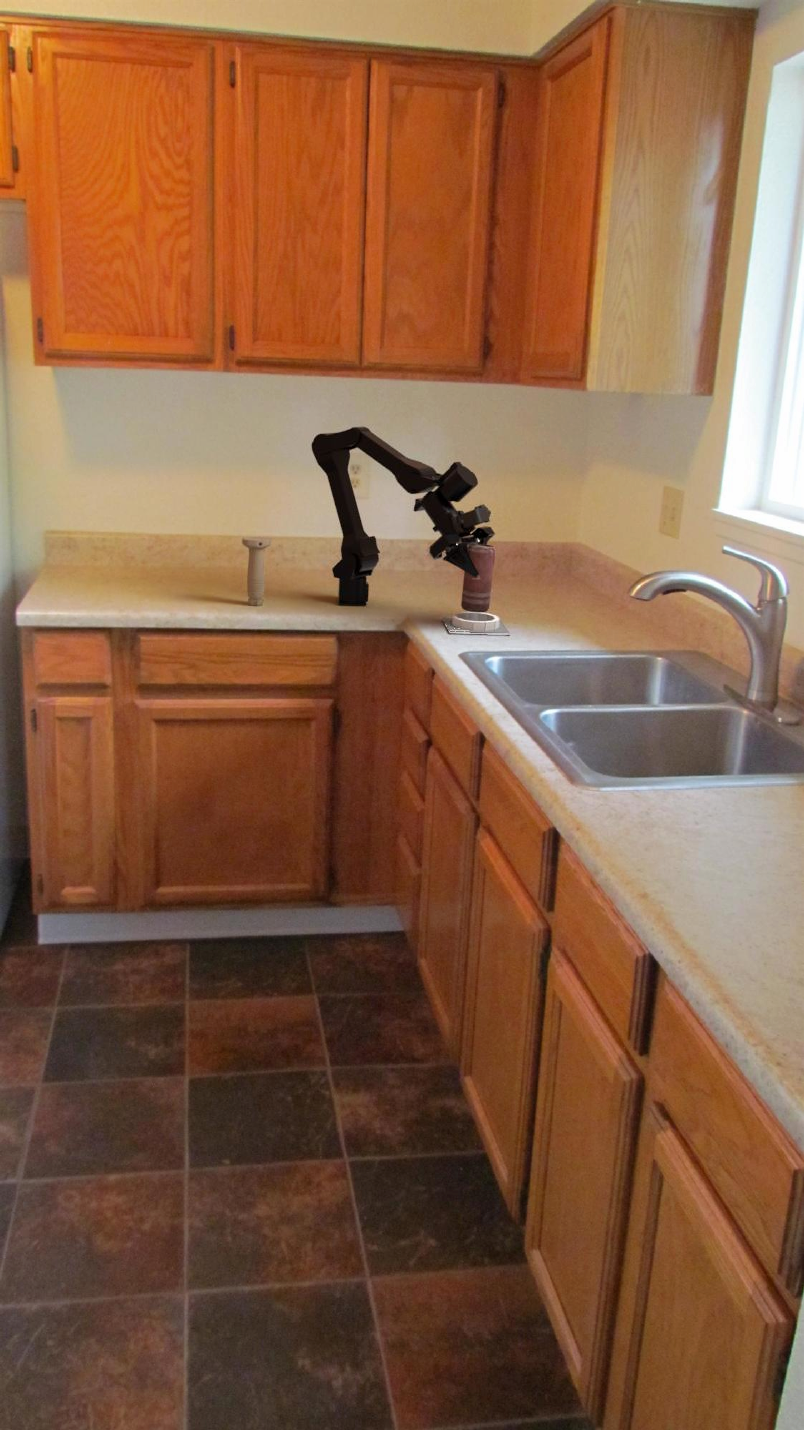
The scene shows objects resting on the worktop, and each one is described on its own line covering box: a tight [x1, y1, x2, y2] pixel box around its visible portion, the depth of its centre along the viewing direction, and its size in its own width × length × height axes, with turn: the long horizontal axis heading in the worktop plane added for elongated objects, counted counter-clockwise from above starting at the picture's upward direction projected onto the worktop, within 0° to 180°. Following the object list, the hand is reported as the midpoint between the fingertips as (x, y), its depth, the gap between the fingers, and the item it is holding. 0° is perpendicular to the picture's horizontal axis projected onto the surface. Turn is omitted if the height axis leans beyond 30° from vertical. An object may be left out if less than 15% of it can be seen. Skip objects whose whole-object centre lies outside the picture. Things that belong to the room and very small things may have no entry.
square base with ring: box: [441, 611, 510, 633], centre depth 262 cm, size 13×13×2 cm
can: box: [460, 544, 497, 613], centre depth 260 cm, size 6×6×14 cm
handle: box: [241, 536, 272, 607], centre depth 271 cm, size 5×6×15 cm
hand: (483, 574), depth 259 cm, fingers closed on can, 5 cm apart
